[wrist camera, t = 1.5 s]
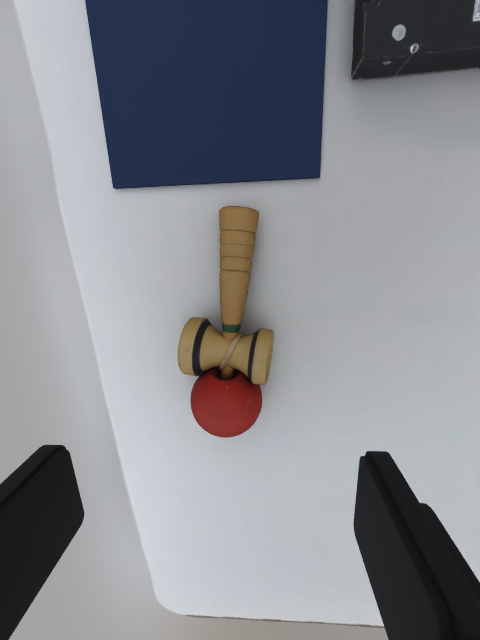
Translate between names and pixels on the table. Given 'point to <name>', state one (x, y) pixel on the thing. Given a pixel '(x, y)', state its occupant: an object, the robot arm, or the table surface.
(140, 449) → the table surface
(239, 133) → the napkin
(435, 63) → the disk drive
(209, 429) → the kendama
